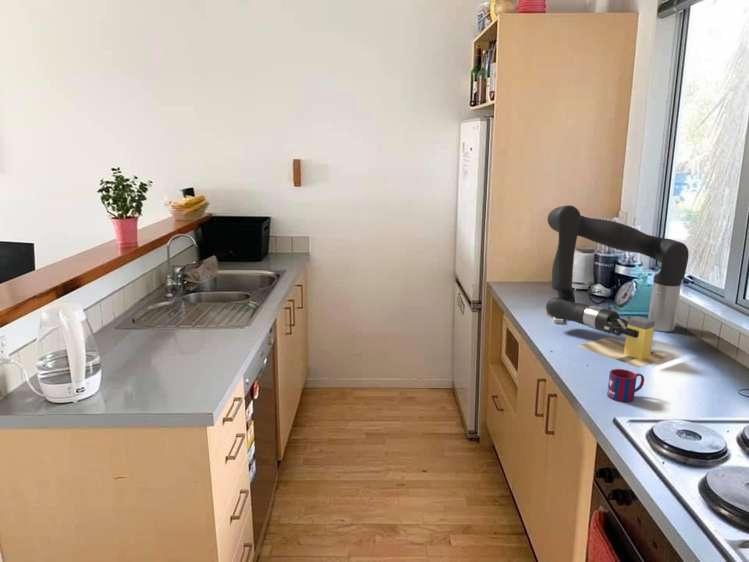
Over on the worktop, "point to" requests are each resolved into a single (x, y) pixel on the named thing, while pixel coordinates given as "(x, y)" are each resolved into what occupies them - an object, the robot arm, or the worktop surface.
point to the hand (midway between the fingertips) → (645, 332)
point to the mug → (623, 385)
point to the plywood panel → (619, 351)
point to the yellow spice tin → (639, 338)
